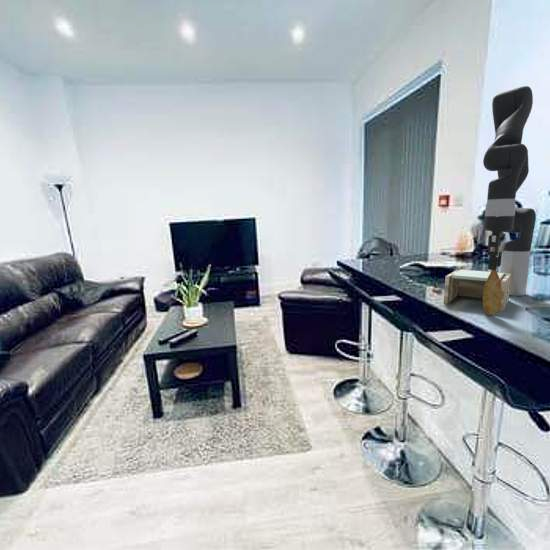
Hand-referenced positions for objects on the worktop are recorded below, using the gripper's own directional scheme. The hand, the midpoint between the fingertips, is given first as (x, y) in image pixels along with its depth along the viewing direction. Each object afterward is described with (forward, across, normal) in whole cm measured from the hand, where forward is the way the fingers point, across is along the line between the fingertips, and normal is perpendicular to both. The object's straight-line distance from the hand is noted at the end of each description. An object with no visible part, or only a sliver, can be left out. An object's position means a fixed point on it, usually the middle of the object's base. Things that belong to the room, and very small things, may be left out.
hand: (494, 268), depth 103 cm
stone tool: (+15, 0, 0) cm, 16 cm away
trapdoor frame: (+15, -15, -6) cm, 22 cm away
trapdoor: (+6, -15, -6) cm, 18 cm away
